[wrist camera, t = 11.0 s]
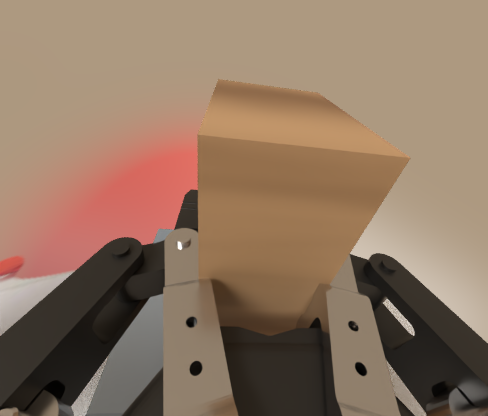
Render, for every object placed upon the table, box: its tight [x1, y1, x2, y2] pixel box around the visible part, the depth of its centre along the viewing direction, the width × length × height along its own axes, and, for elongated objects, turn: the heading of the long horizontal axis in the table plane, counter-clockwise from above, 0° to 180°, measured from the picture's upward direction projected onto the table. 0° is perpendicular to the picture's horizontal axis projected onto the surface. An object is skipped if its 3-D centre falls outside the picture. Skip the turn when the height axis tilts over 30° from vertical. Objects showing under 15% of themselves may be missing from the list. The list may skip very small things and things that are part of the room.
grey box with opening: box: [86, 229, 174, 416], centre depth 19 cm, size 16×14×14 cm
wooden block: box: [198, 79, 410, 336], centre depth 10 cm, size 6×4×12 cm, turn 2°
